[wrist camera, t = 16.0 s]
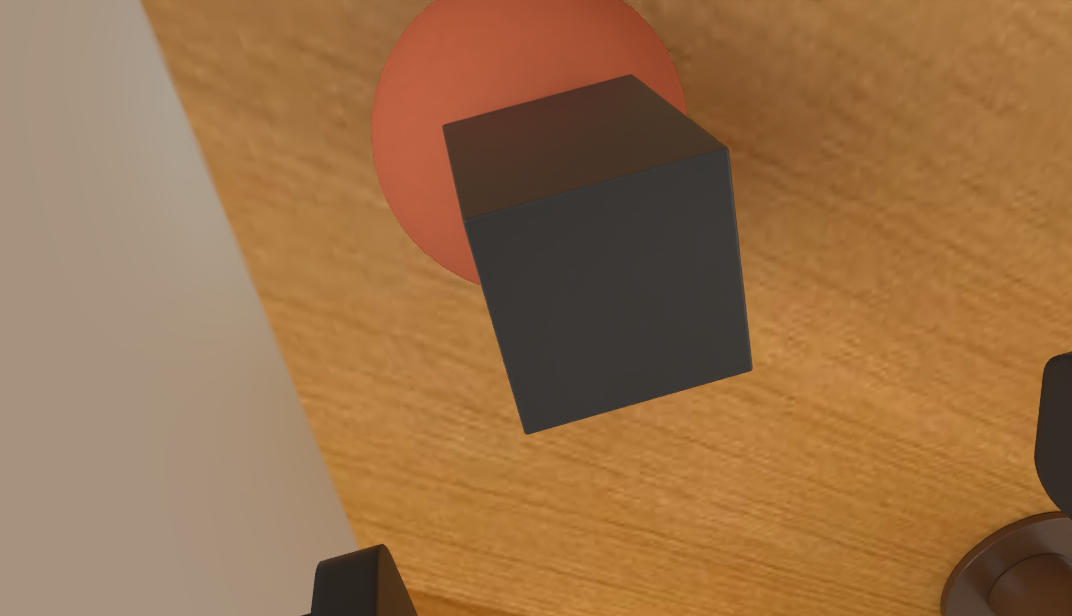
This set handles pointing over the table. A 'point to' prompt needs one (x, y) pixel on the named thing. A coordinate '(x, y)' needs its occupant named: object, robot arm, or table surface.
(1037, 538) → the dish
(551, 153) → the block
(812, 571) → the table surface
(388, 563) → the robot arm
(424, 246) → the ball
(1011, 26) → the table surface
